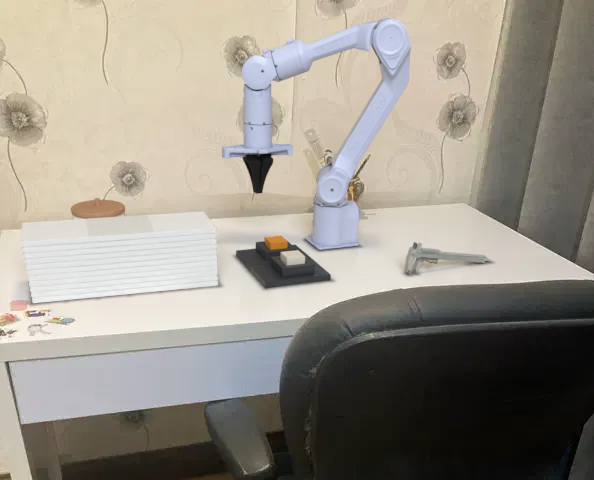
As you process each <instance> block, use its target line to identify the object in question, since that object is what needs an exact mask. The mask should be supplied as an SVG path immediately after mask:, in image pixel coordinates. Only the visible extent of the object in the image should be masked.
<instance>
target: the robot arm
mask: <svg viewBox="0 0 594 480" xmlns="http://www.w3.org/2000/svg"><path fill="white" fill-rule="evenodd" d="M285 41H286V43H283V44H282V45H279V46H276V47H273V48H271V49H269V48H268V47H266V48H263V49H262V54H259V53H257V54H254V55H251V56H249V57H248V59H246V60H245V62H244V63H243V65H242V67H241V78H242V81H243V83H244V84H243V89H242V90H243V91H242V92H243V98H242V120H243V143H242V144H236V145H228V146H221V156H222V158H223V159H224V160H225V159H227V160H228V159H231V158H232V159H233V158H242V161H243V163H244V165H245V167H246V169H247V172H248V174H249V178H250V182H251V186H252V187H251V188H252V192H253V193H254V194H257V195H259V194H263V191H264V186H265V182H266V179H267V177H268V173H269V172H270V169H271V167H272V166H273V164H274V158H273V157H272V156H289V157H290V156H293V153H294V148H293V147H294V146H293V145H292V144H291V143H273V97H272V82H277V83H280V82H282V81H285V80H288V79H291V78H293V77H296V76H299V75H301V74H304V73H307V72H309V71H310V70H311V67H312V65H313V63H314V62H316V61H318V60H321V59H324V58H328V57H330V56H335V55H337V54H339V53H343V52H346V51H349V50H352V49H355V50H361V51H365V52H371V48H372V50H373V52H374V54H375V56H376V58H377V59H378V64H379V70H380V75H381V79H380V81H379V83H378V85H377V86H376V88H375V89H374V91H373V93H372V94H371V96H370V98H369V99H368V101H367V103H365V106H364V107H363V109H362V111H361V113H360V115H359V116H358V117H357V119H356V121H355V123H354V124H353V125H352V128H351V129H350V131H349V132H348V134H347V135H346V137H345V139H344V141H343V143H342V144H341V146H340V148H339V149H338V151H336V153H335V154H334V155H333V156H332V158H331V159H330V161H329V162H328V163H327V164H325V165H324V166H322V167H321V168H320V169H319V170H318V172H317V175H316V188H315V192H316V195H315V197H313V205H312V207H313V208H312V230H311V231H312V232H311V235H309V236H304V239H305V240H306V241H307V242H309V243H310V244H311V245H312V246H314V247H315V249H317V250H319V251H323V250H332V249H341V248H350V247H358V246H359V245H360V244H359V242H358V238H359V226H360V210H359V207H358V204H357V202H356V201H355V200H349V199H348V197H347V194H348V188H349V184H350V182H351V181H352V179H353V177H354V174H355V171H356V169H357V166H358V165H359V163H360V162H361V160H362V158H363V157H364V156H365V154H366V152H367V150H368V149H369V147H370V146H371V145H372V142H373V141H374V140H375V138H376V136H377V134H378V133H379V132H380V130H381V128H382V127H383V125H384V123H385V122H386V120H387V119H388V117H389V115H390V114H391V112H392V111H393V109H394V107H395V106H396V104H397V103H398V101H399V100H400V98H401V96H402V95H403V94H404V91H405V90H406V89H407V87H408V84H409V81H410V65H411V64H410V62H411V61H410V60H411V50H412V49H411V48H412V44H411V40H410V36H409V33H408V30H407V28H406V26H405V25H404V23H403V22H401V21H400V20H397V19H394V18H392V17H384V18H380V19H379V20H377V21H375V20H371V21H366V22H362V23H357V24H353V25H352V26H350V27H346V28H344V29H342V30H339V31H337V32H334V33H331V34H330V35H327V36H324V37H322V38H319V39H316V40H314V41H312V42H310V43H308V42H306V41H305V40H303V39H301V38H297V39H294V37H290V38H287V39H286V40H285Z"/></svg>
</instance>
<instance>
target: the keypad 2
mask: <svg viewBox="0 0 594 480" xmlns="http://www.w3.org/2000/svg"><path fill="white" fill-rule="evenodd" d="M249 272H250V273H251V274H252V275H253V276H254V277H255V279H256V280H257V281H258V282H259V283H260V284H261V285H262V286H263V288H264V289H271V288H280V287H288V286H296V285H304V284H313V283H320V282H328V281H331V278H332V277H331V275H332V274H331V273H329V271H327V270H326V269H325V268H324V267H323V266H322V265H320V264H319V263H318V262H317V261H315V259H314V258H312V259H308V258H307V257H306V256H305V264H297V265H288V266H286V265H285V264H284V263H283V262H282V261H281V256H275V257H271V264H262V265H253V266H250V271H249Z"/></svg>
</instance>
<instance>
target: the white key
mask: <svg viewBox="0 0 594 480" xmlns="http://www.w3.org/2000/svg"><path fill="white" fill-rule="evenodd" d="M281 261H282V262H283V263H284V264H285V265H286V266H288V265H297V264H305V256H304V255H303V254H302V253H301V252H300V251H299V250H295V251H285V252H281Z"/></svg>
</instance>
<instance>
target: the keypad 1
mask: <svg viewBox="0 0 594 480" xmlns="http://www.w3.org/2000/svg"><path fill="white" fill-rule="evenodd" d="M295 250H299V251H300V252H301V253H302V254H303V255H304V256H306V257H307V258H308V259H313V258H312V257H311V256H309V254H308V253H306V252H305V251H303V249H302V248H301V247H299V246H298V245H297V244H292V243H290V242H289V241H288V247H287V248H283V249H273V250H269V249H268V248H267V247H266V246H265V240H262V241H255V248H246V249H238V250H236V251H235V257H236V258H237V259H239V261H240V262H241V263H242V264H243V266H244V267H245V268H246V269H247V270H248V271H249V272H250V266H253V265H262V264H271V257H275V256H281V252H285V251H295Z"/></svg>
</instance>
